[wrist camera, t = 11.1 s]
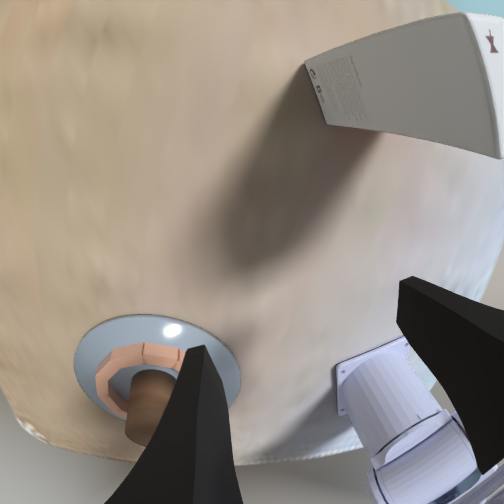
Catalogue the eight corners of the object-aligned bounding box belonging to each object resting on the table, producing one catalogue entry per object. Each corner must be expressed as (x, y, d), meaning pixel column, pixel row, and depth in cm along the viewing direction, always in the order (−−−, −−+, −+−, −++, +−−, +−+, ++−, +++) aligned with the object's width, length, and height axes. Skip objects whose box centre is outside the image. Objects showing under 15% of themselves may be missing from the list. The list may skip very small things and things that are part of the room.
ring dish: (256, 407, 26) (259, 422, 24) (126, 430, 25) (124, 444, 23) (210, 291, 19) (211, 307, 18) (45, 334, 19) (38, 349, 17)
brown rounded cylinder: (186, 395, 23) (189, 444, 18) (144, 402, 22) (141, 450, 18) (168, 364, 21) (166, 418, 16) (122, 373, 21) (114, 424, 16)
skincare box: (325, 127, 16) (497, 165, 6) (301, 60, 14) (460, 5, 4) (402, 104, 16) (563, 130, 5) (383, 44, 14) (543, 24, 4)
